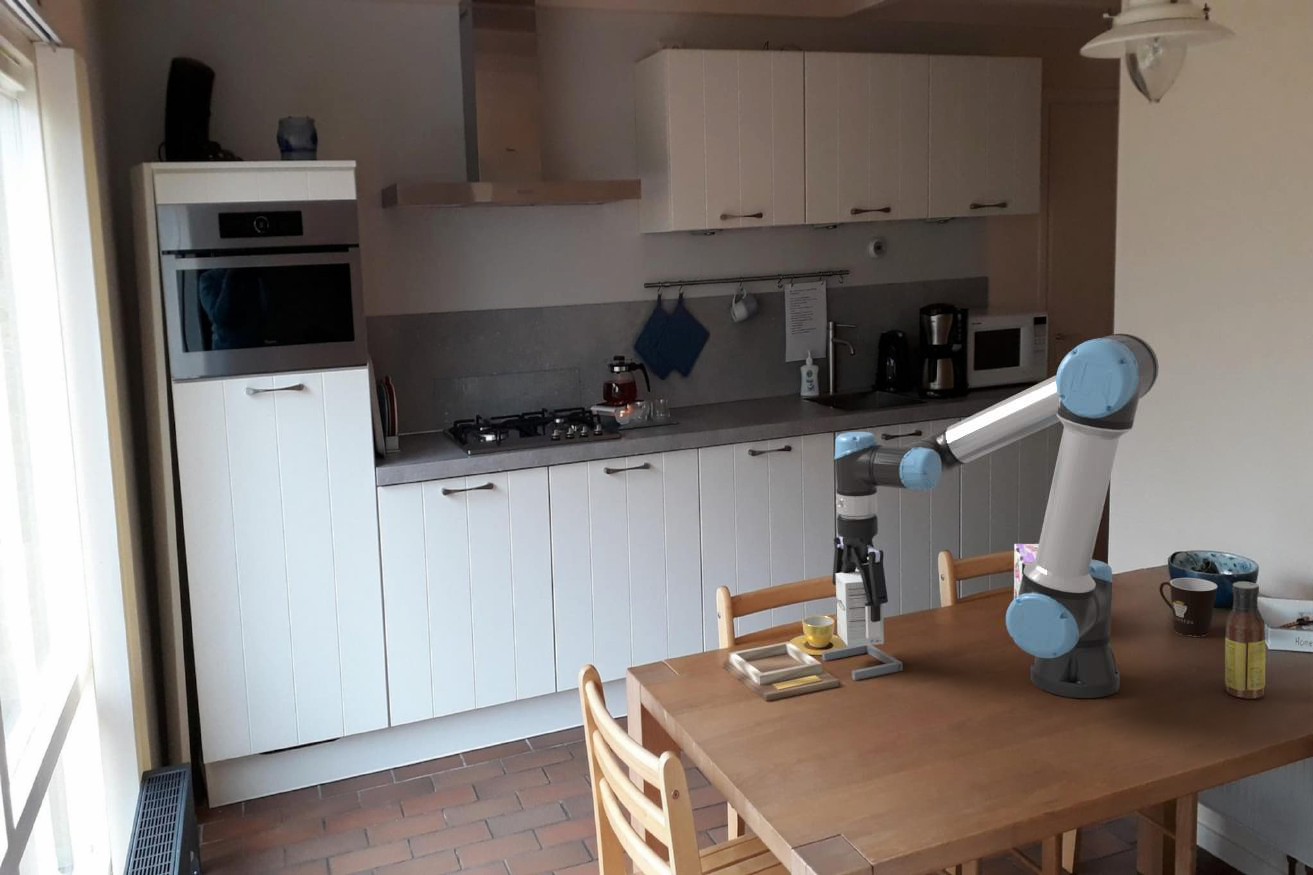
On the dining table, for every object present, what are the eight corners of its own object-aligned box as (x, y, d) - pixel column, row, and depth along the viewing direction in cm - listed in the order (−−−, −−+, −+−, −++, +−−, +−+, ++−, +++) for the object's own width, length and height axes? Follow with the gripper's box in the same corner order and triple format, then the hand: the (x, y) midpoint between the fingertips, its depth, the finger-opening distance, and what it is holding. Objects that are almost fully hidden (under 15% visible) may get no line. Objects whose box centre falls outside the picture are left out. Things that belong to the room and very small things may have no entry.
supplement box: (836, 635, 219) (834, 572, 217) (874, 632, 220) (872, 569, 218) (846, 647, 212) (844, 582, 210) (885, 644, 213) (883, 579, 211)
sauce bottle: (1263, 689, 199) (1269, 580, 196) (1265, 702, 193) (1271, 591, 190) (1221, 684, 202) (1227, 577, 198) (1222, 697, 196) (1228, 587, 193)
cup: (859, 650, 226) (859, 624, 225) (806, 660, 221) (806, 634, 220) (829, 632, 237) (829, 607, 236) (778, 641, 232) (777, 616, 231)
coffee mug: (1223, 638, 224) (1225, 590, 222) (1179, 640, 224) (1181, 591, 222) (1196, 619, 235) (1198, 572, 233) (1154, 620, 235) (1156, 574, 233)
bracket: (902, 670, 214) (902, 662, 214) (854, 680, 210) (854, 672, 210) (868, 650, 225) (868, 642, 225) (822, 659, 221) (822, 651, 221)
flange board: (838, 686, 208) (838, 670, 207) (766, 701, 202) (765, 685, 202) (791, 654, 224) (791, 640, 224) (723, 667, 219) (722, 652, 218)
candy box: (1012, 617, 241) (1013, 542, 238) (1041, 617, 239) (1042, 542, 237) (1019, 639, 227) (1021, 561, 224) (1050, 640, 226) (1052, 561, 223)
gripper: (811, 506, 220) (815, 618, 224) (870, 528, 201) (873, 650, 205) (844, 501, 223) (848, 611, 227) (906, 522, 204) (908, 643, 207)
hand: (860, 629), depth 216 cm, fingers closed on supplement box, 8 cm apart
